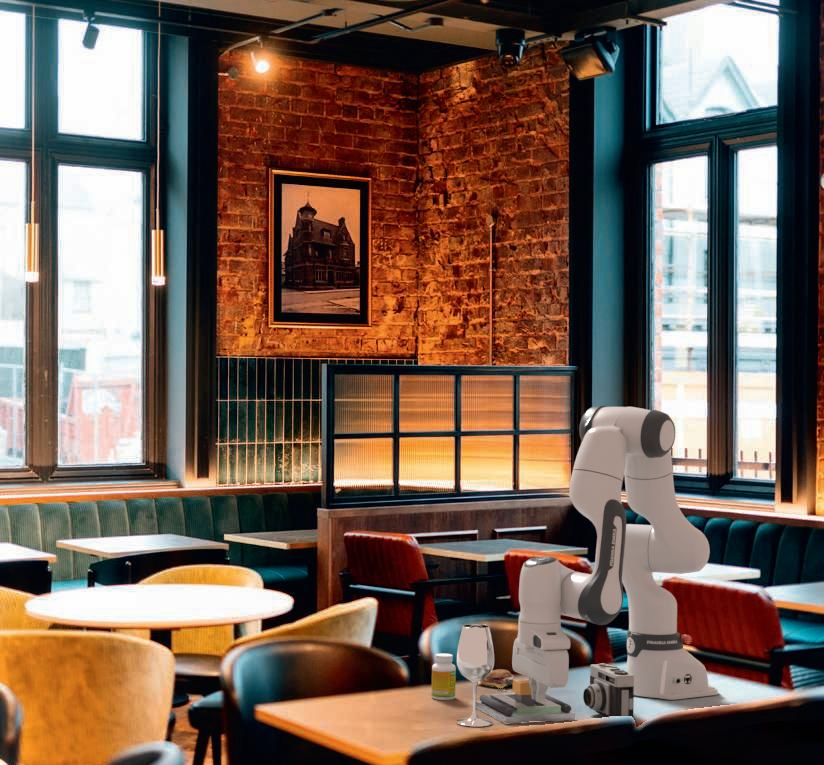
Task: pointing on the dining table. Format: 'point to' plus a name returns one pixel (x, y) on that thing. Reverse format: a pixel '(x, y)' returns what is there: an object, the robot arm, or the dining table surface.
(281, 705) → the dining table surface
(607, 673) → the camera
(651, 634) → the robot arm
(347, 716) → the dining table surface
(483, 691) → the dining table surface
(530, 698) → the toggle
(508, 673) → the hamburger
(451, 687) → the supplement bottle
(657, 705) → the dining table surface
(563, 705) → the dark grey slide rails
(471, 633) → the wineglass
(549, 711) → the panel
